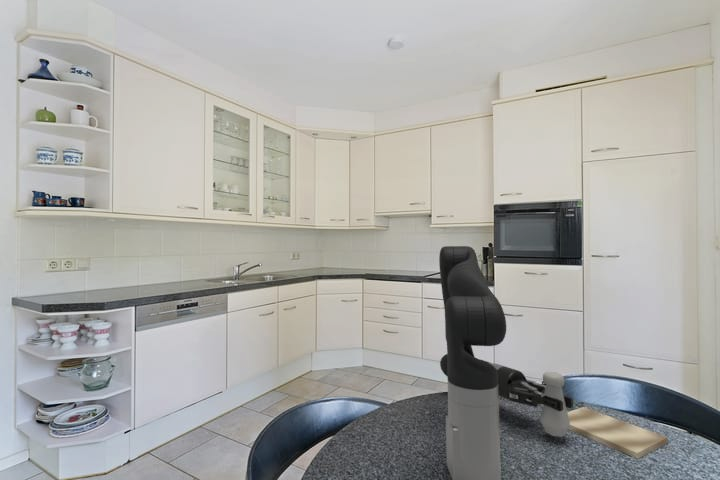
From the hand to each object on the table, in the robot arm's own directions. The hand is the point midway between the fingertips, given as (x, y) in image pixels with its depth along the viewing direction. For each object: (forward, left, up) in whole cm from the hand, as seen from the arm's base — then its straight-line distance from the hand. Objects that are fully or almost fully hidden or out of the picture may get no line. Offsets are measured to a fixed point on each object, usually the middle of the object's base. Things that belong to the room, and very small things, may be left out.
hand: (566, 404), depth 76 cm
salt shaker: (-2, +2, -7) cm, 8 cm away
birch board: (+12, +6, -9) cm, 16 cm away
